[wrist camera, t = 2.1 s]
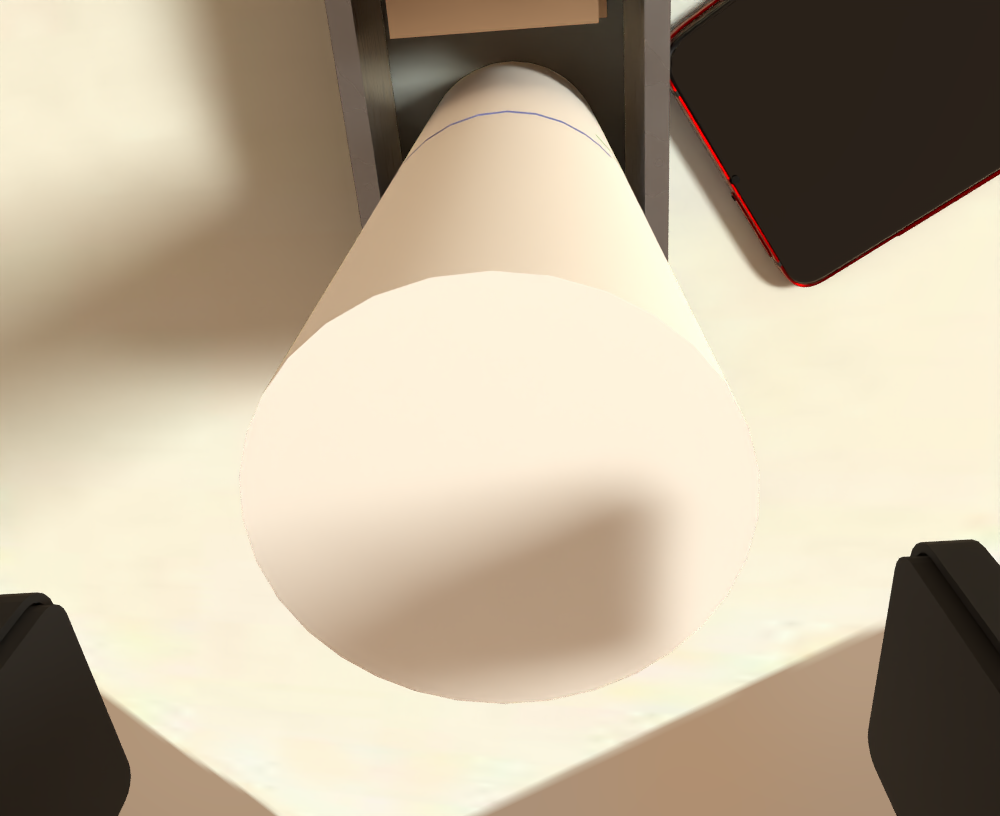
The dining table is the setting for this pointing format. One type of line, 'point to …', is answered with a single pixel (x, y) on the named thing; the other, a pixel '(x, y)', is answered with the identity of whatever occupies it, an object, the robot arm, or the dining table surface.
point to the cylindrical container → (502, 421)
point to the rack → (376, 123)
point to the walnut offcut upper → (484, 15)
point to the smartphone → (842, 116)
